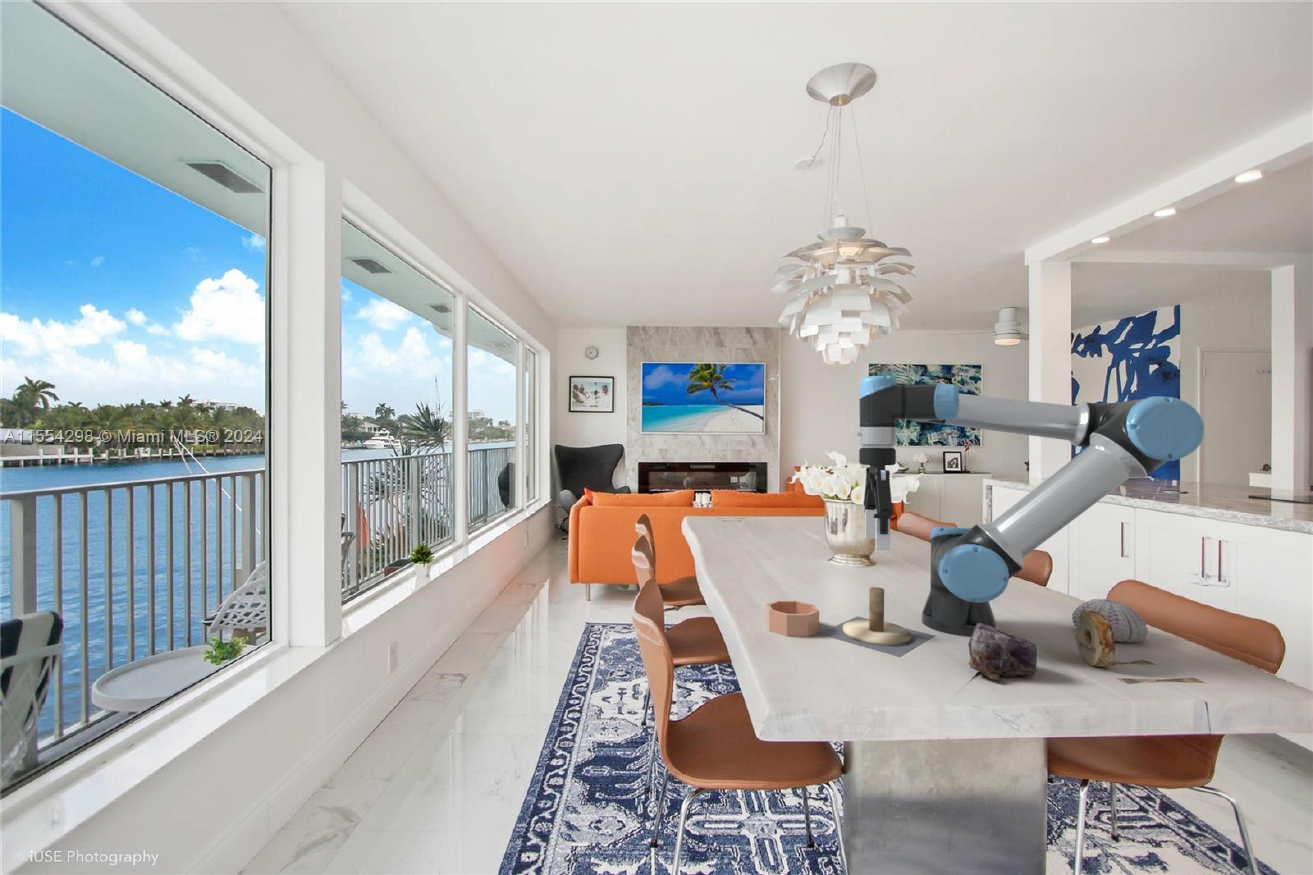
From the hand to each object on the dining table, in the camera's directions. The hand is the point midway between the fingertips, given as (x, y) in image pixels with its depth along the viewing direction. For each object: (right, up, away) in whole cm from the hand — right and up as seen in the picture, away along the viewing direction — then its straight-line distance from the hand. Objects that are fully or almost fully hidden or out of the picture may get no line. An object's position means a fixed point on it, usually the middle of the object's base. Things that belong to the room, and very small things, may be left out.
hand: (876, 543), depth 125 cm
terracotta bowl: (-18, -20, +4) cm, 27 cm away
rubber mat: (0, -20, 0) cm, 20 cm away
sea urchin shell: (+52, -21, +2) cm, 56 cm away
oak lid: (0, -20, 0) cm, 20 cm away
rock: (+15, -21, -19) cm, 32 cm away
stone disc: (+37, -21, -14) cm, 45 cm away
